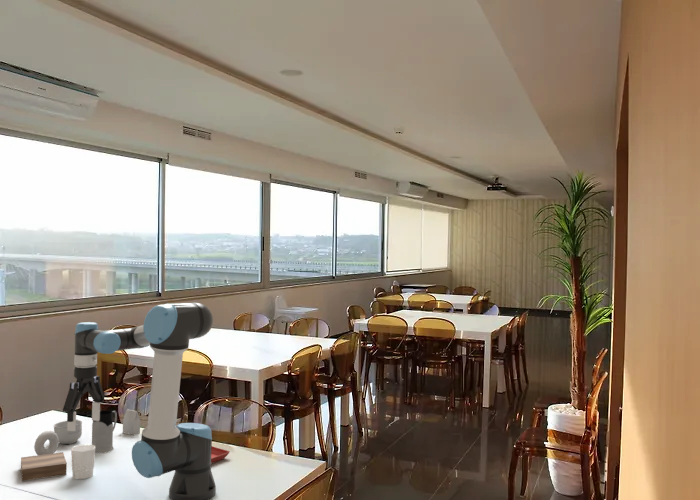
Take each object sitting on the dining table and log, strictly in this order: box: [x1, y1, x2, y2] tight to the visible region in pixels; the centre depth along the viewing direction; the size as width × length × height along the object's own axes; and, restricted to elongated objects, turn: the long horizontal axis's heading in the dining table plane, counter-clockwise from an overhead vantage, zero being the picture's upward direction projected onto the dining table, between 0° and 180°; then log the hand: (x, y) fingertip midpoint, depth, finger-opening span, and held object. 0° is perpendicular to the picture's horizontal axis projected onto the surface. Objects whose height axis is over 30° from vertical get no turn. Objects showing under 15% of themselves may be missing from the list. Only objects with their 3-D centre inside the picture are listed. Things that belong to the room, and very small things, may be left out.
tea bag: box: [122, 408, 141, 436], centre depth 271 cm, size 4×7×10 cm, turn 61°
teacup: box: [53, 418, 83, 445], centre depth 258 cm, size 14×11×8 cm
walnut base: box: [20, 451, 68, 482], centre depth 221 cm, size 14×14×4 cm
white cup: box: [71, 444, 96, 480], centre depth 218 cm, size 8×8×10 cm
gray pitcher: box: [91, 409, 118, 454], centre depth 250 cm, size 9×14×15 cm, turn 170°
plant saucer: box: [211, 446, 230, 464], centre depth 237 cm, size 18×18×3 cm
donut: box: [33, 430, 60, 456], centre depth 237 cm, size 10×4×10 cm, turn 155°
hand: (83, 425), depth 218 cm, fingers open, 13 cm apart
